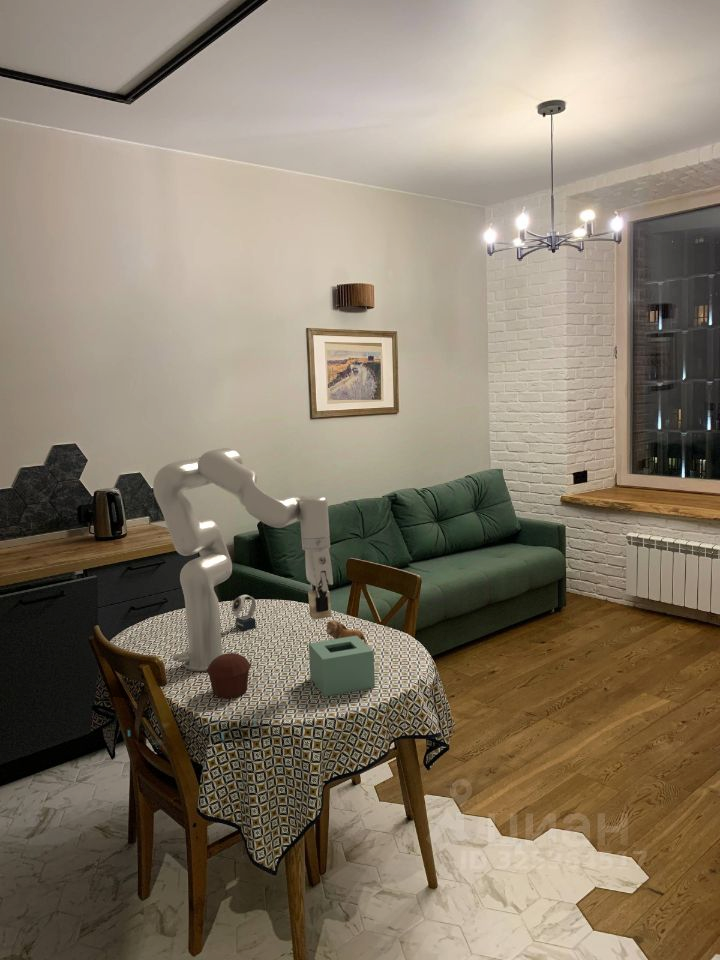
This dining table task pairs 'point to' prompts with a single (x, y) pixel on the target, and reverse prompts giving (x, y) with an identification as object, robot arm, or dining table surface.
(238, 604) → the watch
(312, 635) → the dining table surface
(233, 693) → the muffin
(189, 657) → the robot arm
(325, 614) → the beige upright block
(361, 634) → the lion figurine
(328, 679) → the money box
